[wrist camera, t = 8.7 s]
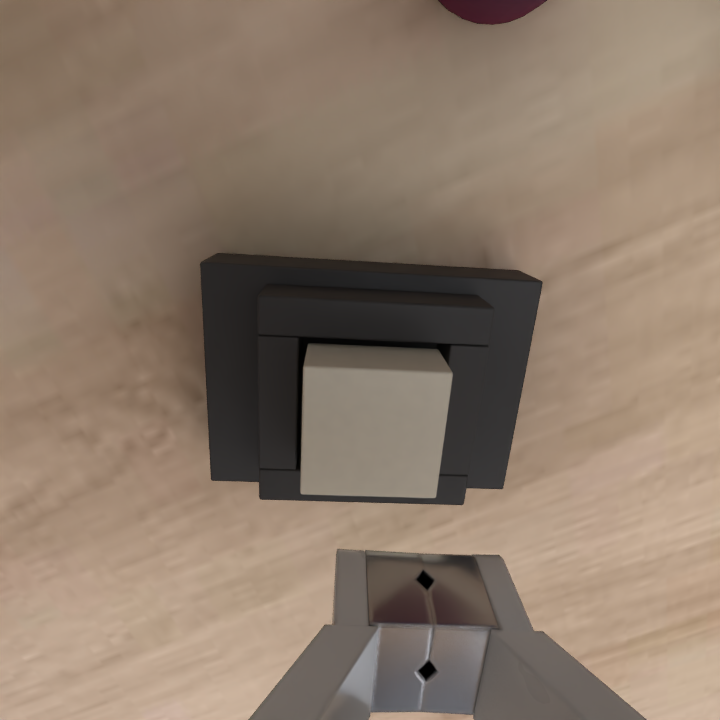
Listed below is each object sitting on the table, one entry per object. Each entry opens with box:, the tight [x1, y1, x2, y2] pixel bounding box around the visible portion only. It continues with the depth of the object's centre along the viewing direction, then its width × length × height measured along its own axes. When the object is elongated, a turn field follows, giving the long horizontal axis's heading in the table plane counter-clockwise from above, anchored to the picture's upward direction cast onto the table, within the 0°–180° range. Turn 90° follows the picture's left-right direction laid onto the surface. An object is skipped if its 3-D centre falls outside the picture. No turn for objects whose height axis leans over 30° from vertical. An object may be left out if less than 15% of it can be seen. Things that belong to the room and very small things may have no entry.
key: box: [300, 343, 453, 498], centre depth 14 cm, size 4×4×2 cm
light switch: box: [200, 253, 542, 505], centre depth 17 cm, size 11×8×4 cm
